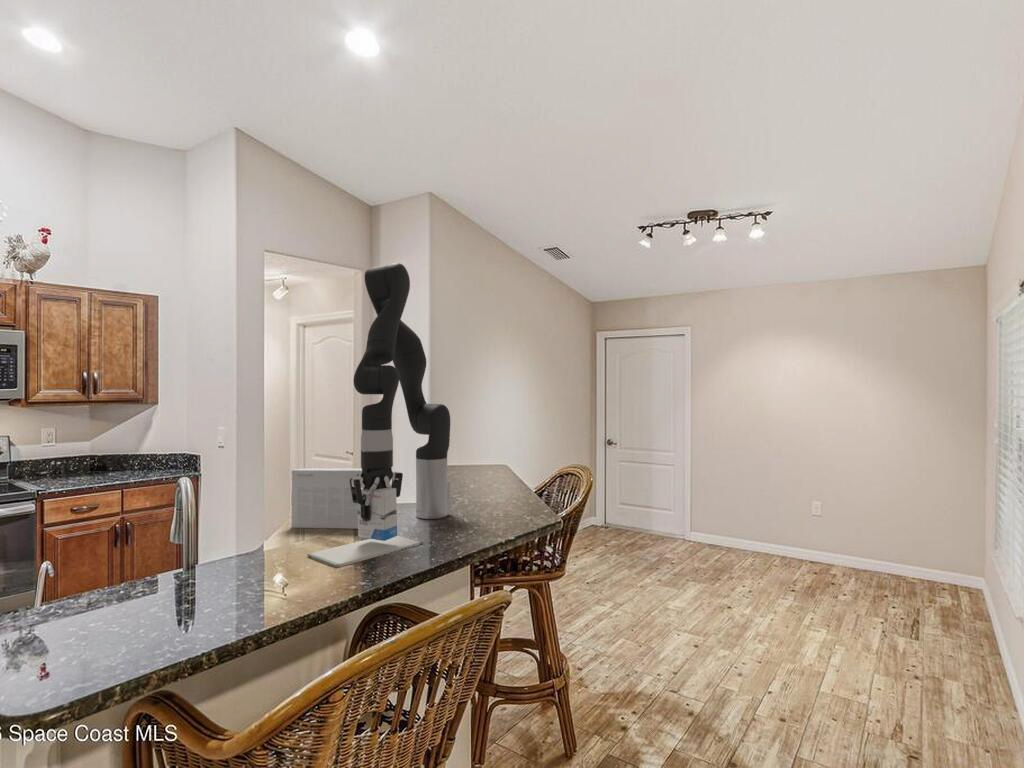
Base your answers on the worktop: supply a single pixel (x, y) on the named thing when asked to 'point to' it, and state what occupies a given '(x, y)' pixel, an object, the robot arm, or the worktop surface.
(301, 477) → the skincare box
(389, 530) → the ink box
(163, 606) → the worktop surface
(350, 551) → the mat
